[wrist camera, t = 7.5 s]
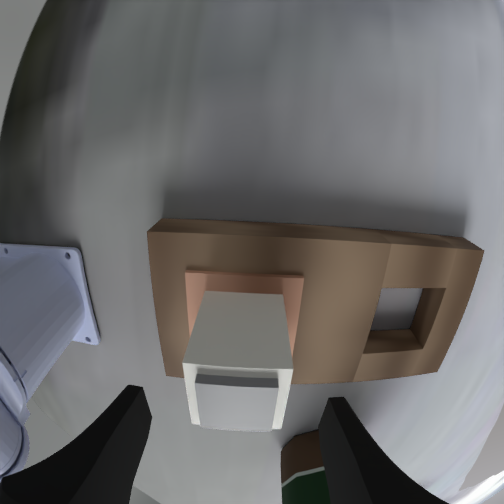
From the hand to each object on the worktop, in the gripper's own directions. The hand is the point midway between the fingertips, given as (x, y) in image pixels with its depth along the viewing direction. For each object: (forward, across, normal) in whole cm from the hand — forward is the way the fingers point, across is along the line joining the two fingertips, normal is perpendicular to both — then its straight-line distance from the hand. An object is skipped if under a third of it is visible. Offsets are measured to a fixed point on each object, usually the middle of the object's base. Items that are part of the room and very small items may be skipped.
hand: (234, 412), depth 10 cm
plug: (+6, 0, 0) cm, 6 cm away
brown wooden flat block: (+9, -5, 0) cm, 10 cm away
